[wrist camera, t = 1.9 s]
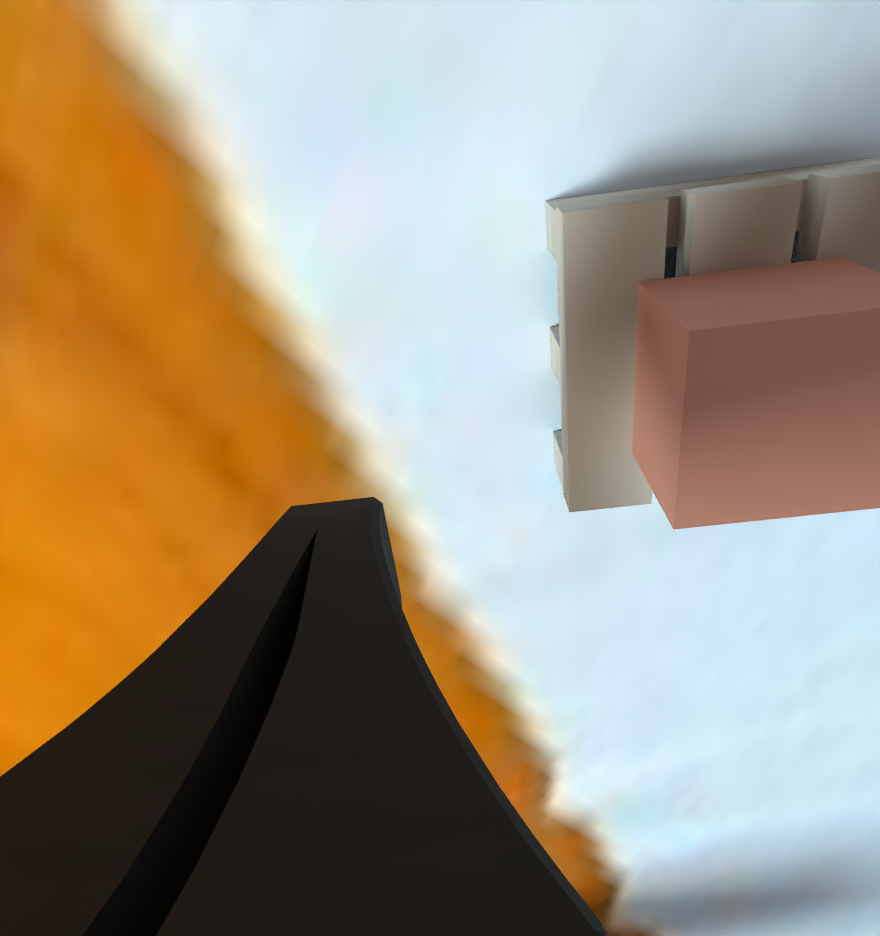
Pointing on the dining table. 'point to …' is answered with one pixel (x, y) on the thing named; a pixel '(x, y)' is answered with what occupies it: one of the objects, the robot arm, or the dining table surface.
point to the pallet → (698, 252)
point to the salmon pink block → (759, 392)
